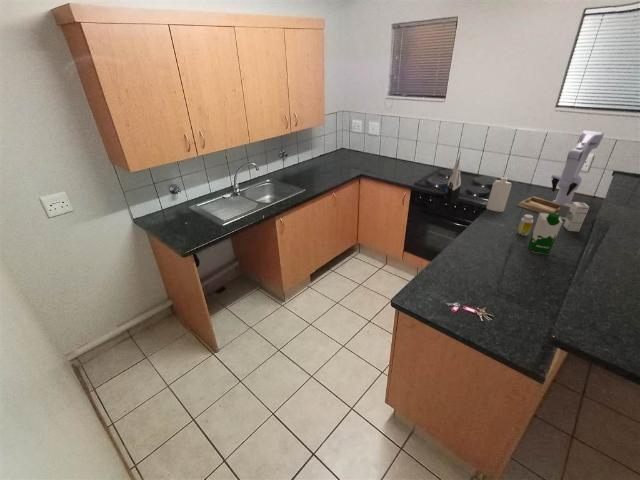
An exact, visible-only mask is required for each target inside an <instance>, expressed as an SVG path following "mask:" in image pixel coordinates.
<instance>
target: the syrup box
mask: <svg viewBox="0 0 640 480" xmlns="http://www.w3.org/2000/svg"><path fill="white" fill-rule="evenodd" d="M571 204H572V205H571V208H570V210H569V213H568V215H567V217H566V220H564V221H563V224H562V225H563V227H564V228H565V230H567V231H569V232H580V230H581V228H582V225H583V224H584V223H583V222H584V221H585V218H586V216H587V214H588V211H589V209H590V206H589V205H588V204H586V203H585V202H581V201H572V203H571Z"/></svg>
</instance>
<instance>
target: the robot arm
mask: <svg viewBox="0 0 640 480" xmlns="http://www.w3.org/2000/svg"><path fill="white" fill-rule="evenodd" d="M603 137H604V132H600V131H593V130H586V129H585V130H583V131H582V132H581V134H580V136H579V142H578V143H577V144H576V145H575V146H574V148H572V149H569V150H568V154H567V157H566V160H565V165H564V168H563V170H562V172H561V175H557V174H552V175H551V177H550V179H551V184H552V187H551V192H554V193H555V191H556V189H557V187H558V192H557V194H556V197H555V199H554V200H552V201H551V202H554V203H558V204H561V205H563V204H565V203H569V204H572V203H573V201H572V199H573V197H574V195H575V191H577V190H578V189H579V187H580V185H581V184H582V177H581V176H580V175H579V174H580V172H581V170H582V168H583V167H584V165H585V163H586V161H587V159H588V157H589V155H590V153H591V152H592V151H593V149H597V148H598V147H599V146H600V143H601V142H602V141H603Z"/></svg>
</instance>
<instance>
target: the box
mask: <svg viewBox="0 0 640 480" xmlns="http://www.w3.org/2000/svg"><path fill="white" fill-rule="evenodd" d="M571 205H572V203H570V204H569V203H565V204H563V205H562V204H561V207H560V209H559V212H557V213H558V215H559V216H561V217H564V218H565V217H567V215H568V213H569V210H570V208H571Z"/></svg>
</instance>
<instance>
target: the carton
mask: <svg viewBox="0 0 640 480" xmlns="http://www.w3.org/2000/svg"><path fill="white" fill-rule="evenodd" d="M561 205H562V204H559V203H555V202H552V201H550V200H548V199H544V198H540V197H538V196H531V197H529V198H526V199H524V200H522V201H520V202H519V203H518V207H521V208H524V209H527V210H529V211H533V212H535V213H539V214H540V213H545V214H549V213H554V214H556V213H558V212H559V209H560V207H561Z"/></svg>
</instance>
